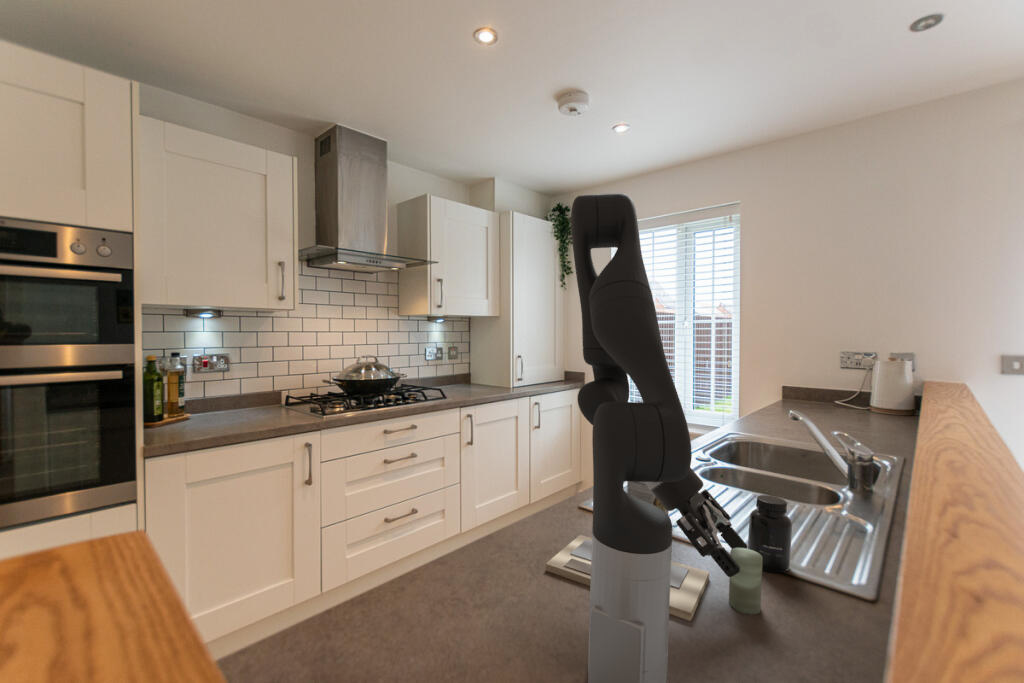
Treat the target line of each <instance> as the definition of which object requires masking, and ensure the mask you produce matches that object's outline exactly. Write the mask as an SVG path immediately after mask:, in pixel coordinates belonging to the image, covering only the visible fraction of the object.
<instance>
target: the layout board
mask: <svg viewBox="0 0 1024 683" xmlns="http://www.w3.org/2000/svg"><path fill="white" fill-rule="evenodd" d="M591 557H592V537H590V536H585V535H582V534H580V535H579V534H578V536H576V538H574V539H573V540H572V541H570V542H569V543H568V544H567V545H566V546H565V547H564V548H562V549H561V550H560V551H559V552H558V553H556V554H555V555H554V556H553V557H552V558H550V560H549V561H547V562H546V563H545V571H546V572H548V573H551V574H554V575H558V576H560V577H563V578H566V579H569V580H572V581H573V582H576V583H581V584H583V585H586V586H589V587H591ZM709 580H710V571H707V570H705V569H704V570H703V569H701V568H696V567H693V566H689V565H686V564H682V563H679V562H675V561H673V560H671V576H670V604H669V615H672V616H674V617H678V618H680V619H683V620H686V621H688V622H691V621H692V619H693V617H694V614H695V612H696V609H697V608H698V605H699V603H700V600H701V598H702V595H703V593H704V592H705V590H706V587H707V584H708V582H709Z"/></svg>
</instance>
